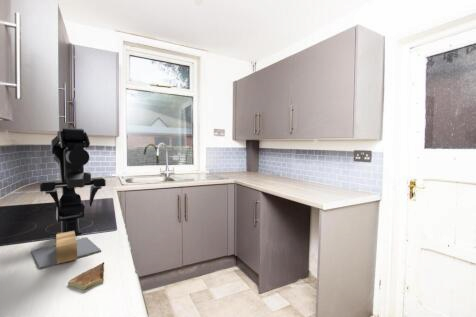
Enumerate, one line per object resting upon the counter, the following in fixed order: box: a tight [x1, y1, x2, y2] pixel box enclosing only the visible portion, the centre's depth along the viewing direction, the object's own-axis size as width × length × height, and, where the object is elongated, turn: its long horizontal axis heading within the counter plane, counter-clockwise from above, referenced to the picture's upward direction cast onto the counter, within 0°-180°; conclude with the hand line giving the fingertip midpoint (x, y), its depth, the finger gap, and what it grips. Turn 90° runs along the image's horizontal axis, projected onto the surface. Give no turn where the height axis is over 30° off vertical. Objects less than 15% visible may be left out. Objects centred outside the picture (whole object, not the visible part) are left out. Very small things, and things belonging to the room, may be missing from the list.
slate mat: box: [30, 236, 102, 270], centre depth 80 cm, size 16×16×1 cm
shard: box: [67, 261, 105, 291], centre depth 65 cm, size 11×8×2 cm
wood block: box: [55, 231, 78, 265], centre depth 78 cm, size 5×5×13 cm
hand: (75, 208), depth 86 cm, fingers open, 9 cm apart
